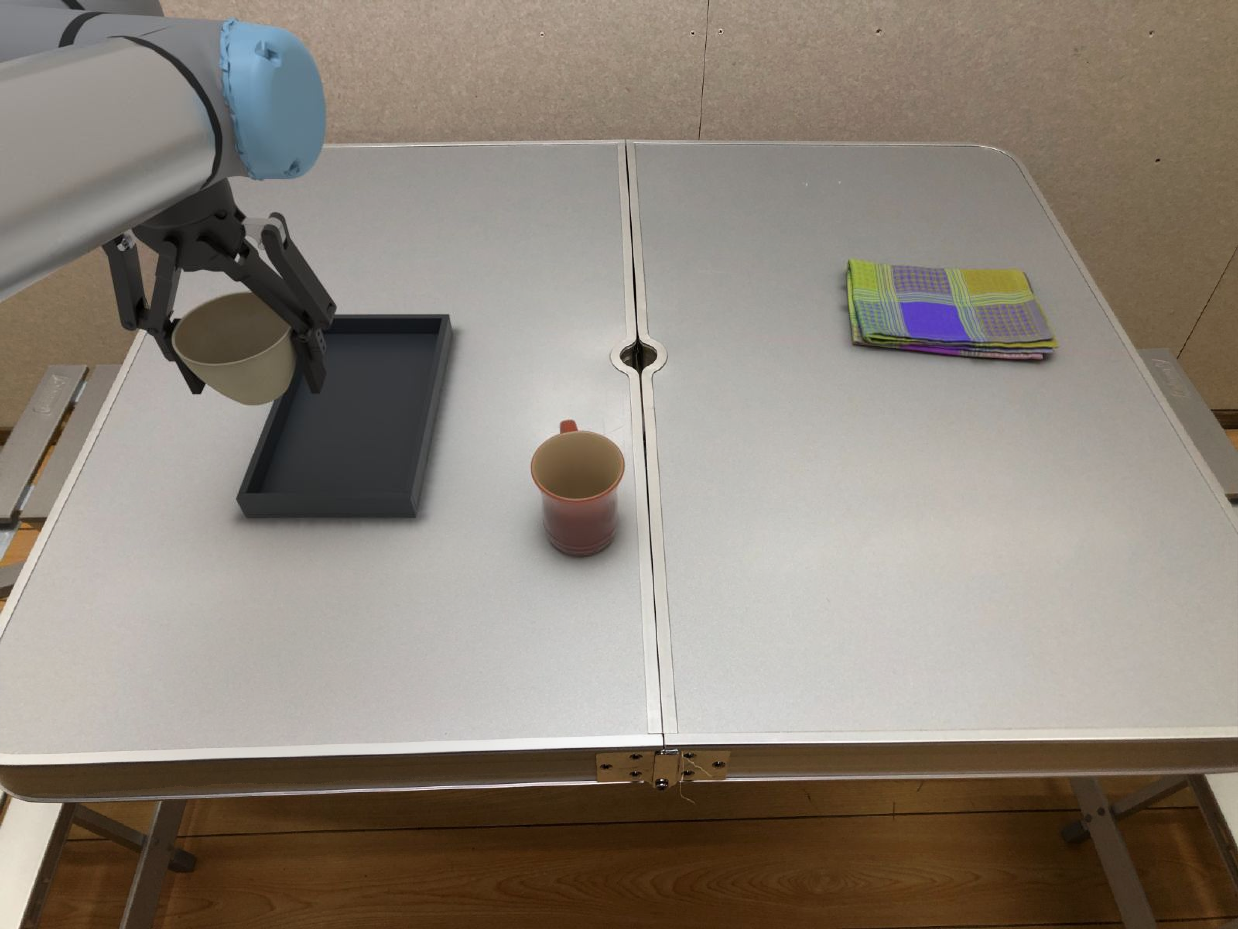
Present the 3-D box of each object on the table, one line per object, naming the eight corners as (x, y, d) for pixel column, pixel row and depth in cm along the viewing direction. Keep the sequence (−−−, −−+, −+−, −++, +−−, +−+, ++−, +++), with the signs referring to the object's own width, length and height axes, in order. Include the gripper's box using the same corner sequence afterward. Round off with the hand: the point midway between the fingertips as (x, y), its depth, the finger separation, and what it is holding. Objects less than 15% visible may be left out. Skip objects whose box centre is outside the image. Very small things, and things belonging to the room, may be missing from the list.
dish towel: (843, 267, 115) (847, 250, 113) (1025, 279, 114) (1033, 262, 111) (852, 350, 104) (856, 332, 102) (1054, 365, 102) (1063, 348, 100)
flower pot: (287, 337, 81) (263, 275, 76) (336, 391, 76) (314, 329, 71) (185, 382, 77) (152, 320, 71) (230, 443, 72) (199, 381, 66)
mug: (631, 559, 83) (633, 493, 75) (544, 573, 82) (536, 507, 74) (610, 470, 91) (609, 401, 83) (530, 481, 90) (522, 413, 82)
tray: (416, 517, 86) (410, 498, 84) (245, 518, 86) (235, 499, 84) (453, 333, 106) (449, 313, 104) (314, 333, 106) (307, 314, 104)
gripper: (329, 128, 62) (391, 355, 79) (24, 129, 62) (151, 357, 79) (305, 181, 57) (376, 412, 74) (-27, 183, 57) (120, 413, 74)
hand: (260, 383), depth 76 cm, fingers closed on flower pot, 10 cm apart
